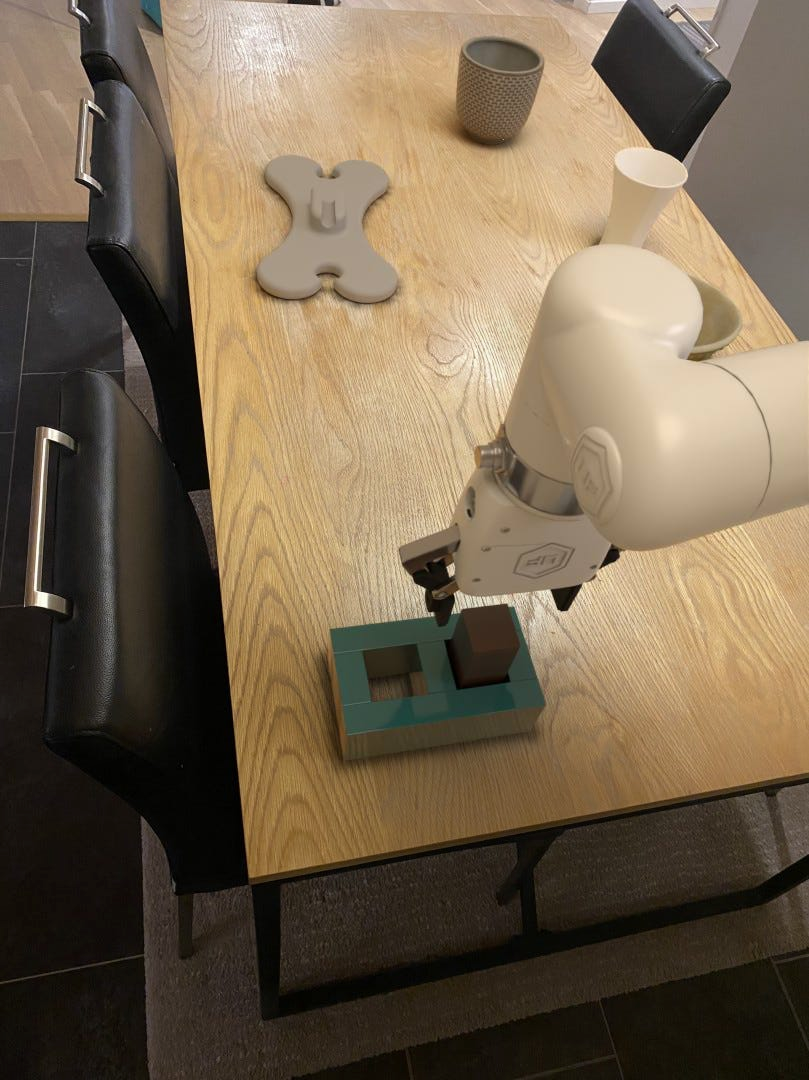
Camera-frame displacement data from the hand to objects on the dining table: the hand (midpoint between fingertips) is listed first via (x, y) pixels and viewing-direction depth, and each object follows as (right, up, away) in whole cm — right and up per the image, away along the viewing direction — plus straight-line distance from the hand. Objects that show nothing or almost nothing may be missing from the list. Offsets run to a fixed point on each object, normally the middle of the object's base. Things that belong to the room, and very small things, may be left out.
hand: (498, 602), depth 59 cm
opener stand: (-5, -10, +12) cm, 16 cm away
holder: (-19, +50, +53) cm, 75 cm away
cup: (+25, +49, +58) cm, 80 cm away
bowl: (+25, +29, +43) cm, 58 cm away
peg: (-2, -9, +12) cm, 15 cm away
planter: (+7, +76, +75) cm, 107 cm away
